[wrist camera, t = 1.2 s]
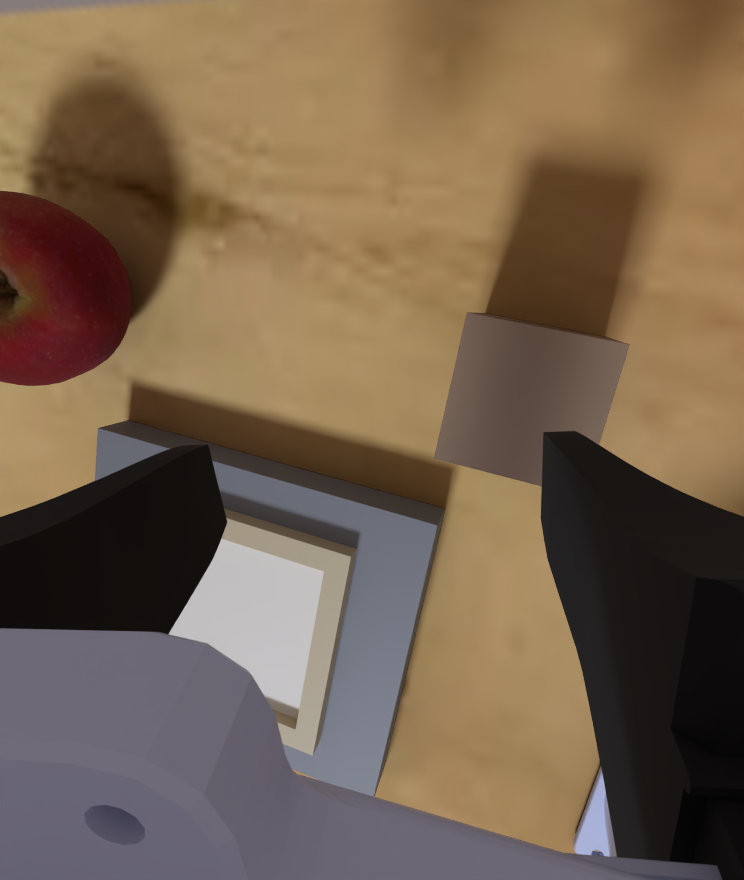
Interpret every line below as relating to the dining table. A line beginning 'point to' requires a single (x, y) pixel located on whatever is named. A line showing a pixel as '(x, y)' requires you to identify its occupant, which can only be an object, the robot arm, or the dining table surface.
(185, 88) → the dining table surface
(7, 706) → the robot arm
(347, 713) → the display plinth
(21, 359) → the apple
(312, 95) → the dining table surface
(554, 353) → the walnut block
